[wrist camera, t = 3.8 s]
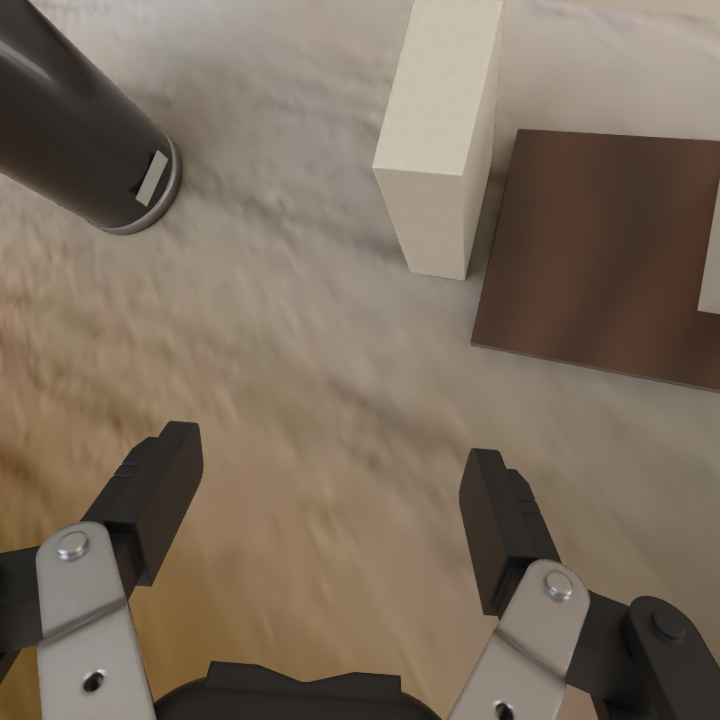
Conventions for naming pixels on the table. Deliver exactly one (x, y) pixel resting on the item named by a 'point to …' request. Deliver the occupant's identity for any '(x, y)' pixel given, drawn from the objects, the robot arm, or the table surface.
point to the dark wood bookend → (605, 256)
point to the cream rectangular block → (712, 267)
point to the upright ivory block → (441, 131)
